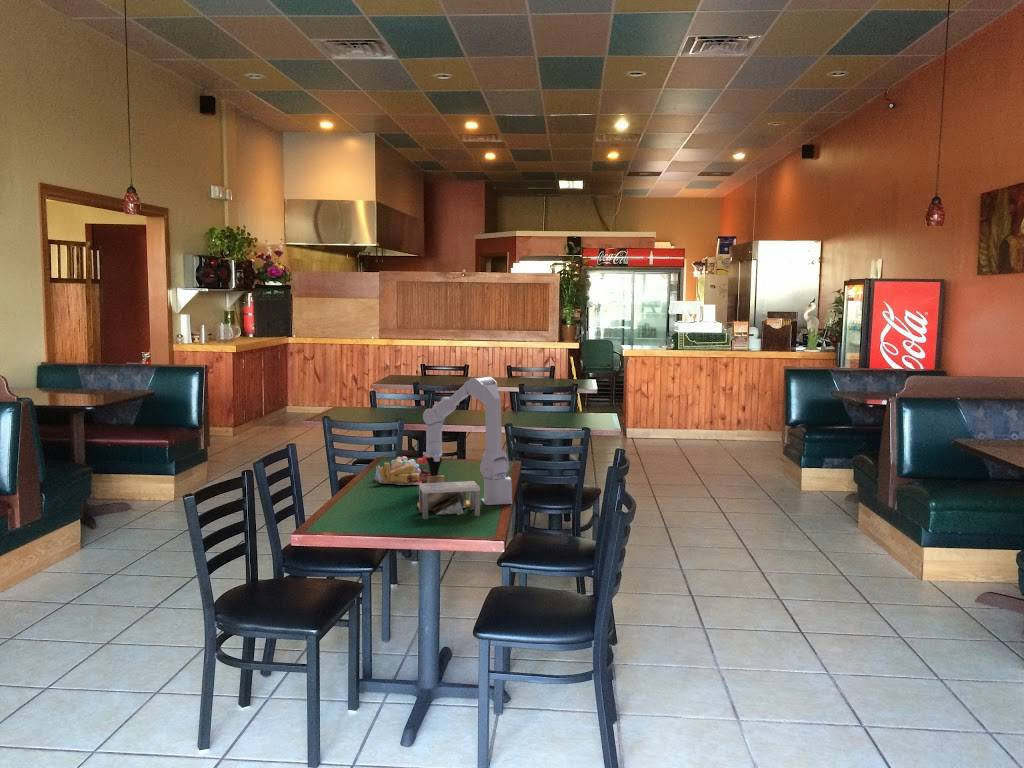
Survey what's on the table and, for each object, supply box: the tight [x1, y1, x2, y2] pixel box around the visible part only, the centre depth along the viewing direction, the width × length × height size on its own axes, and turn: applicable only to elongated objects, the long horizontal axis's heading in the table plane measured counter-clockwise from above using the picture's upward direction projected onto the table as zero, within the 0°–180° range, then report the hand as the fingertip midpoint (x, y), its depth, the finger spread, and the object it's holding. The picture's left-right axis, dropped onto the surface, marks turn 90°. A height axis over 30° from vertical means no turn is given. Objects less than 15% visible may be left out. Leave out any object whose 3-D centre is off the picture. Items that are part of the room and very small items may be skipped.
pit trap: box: [416, 499, 470, 510], centre depth 277 cm, size 18×6×1 cm, turn 104°
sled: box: [427, 474, 467, 511], centre depth 284 cm, size 13×25×6 cm, turn 14°
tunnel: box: [418, 480, 481, 520], centre depth 268 cm, size 19×10×10 cm, turn 104°
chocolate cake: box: [429, 492, 464, 517], centre depth 269 cm, size 10×7×12 cm
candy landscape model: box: [374, 455, 439, 486], centre depth 319 cm, size 25×24×9 cm
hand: (433, 477), depth 300 cm, fingers closed
